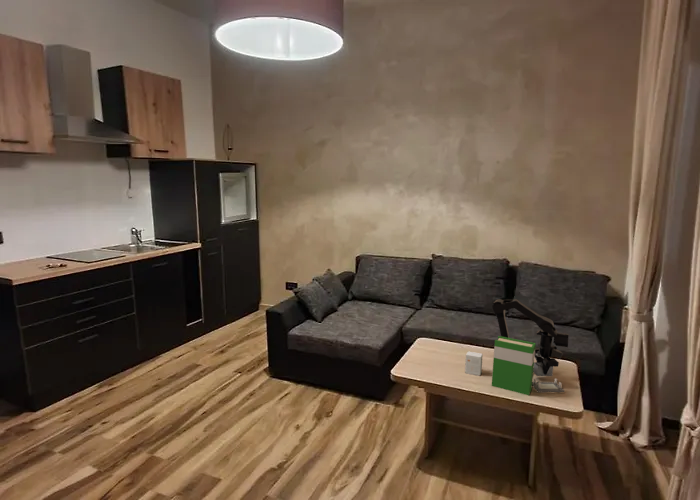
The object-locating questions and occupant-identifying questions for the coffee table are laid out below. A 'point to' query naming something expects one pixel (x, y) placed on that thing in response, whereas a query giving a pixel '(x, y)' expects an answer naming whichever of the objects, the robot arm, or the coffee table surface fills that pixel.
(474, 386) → the coffee table surface
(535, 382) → the panel with knobs
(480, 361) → the small box
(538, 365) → the drive
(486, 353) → the coffee table surface
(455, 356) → the coffee table surface
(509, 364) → the hardback book
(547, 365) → the robot arm
